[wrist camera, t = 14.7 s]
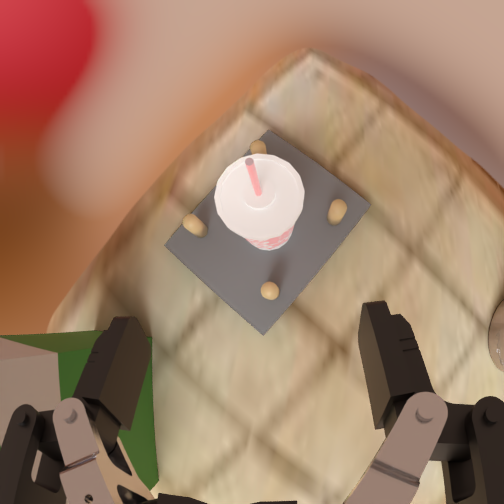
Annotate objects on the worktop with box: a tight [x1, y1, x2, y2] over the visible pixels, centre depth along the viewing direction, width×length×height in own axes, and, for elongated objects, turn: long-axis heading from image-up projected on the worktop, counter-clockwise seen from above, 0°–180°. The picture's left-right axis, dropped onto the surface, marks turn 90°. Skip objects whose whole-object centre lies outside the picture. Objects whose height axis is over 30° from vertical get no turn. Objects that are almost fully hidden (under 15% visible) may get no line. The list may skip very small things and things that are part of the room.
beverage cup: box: [214, 153, 305, 251], centre depth 23 cm, size 6×6×14 cm
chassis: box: [164, 130, 371, 336], centre depth 29 cm, size 16×13×5 cm
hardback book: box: [0, 330, 159, 504], centre depth 18 cm, size 18×7×24 cm, turn 179°
